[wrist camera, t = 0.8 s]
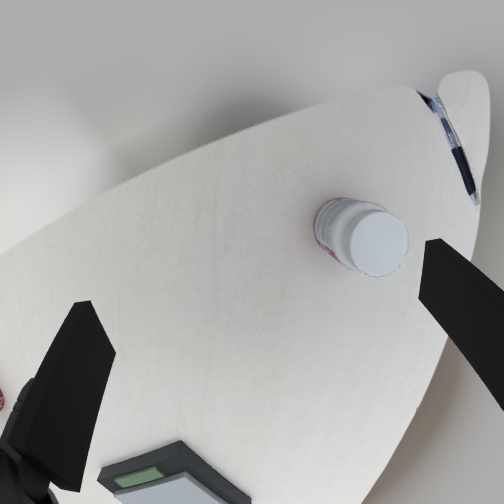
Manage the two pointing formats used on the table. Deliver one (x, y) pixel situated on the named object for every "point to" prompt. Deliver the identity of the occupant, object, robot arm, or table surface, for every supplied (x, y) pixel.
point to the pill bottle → (361, 236)
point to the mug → (1, 401)
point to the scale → (169, 479)
